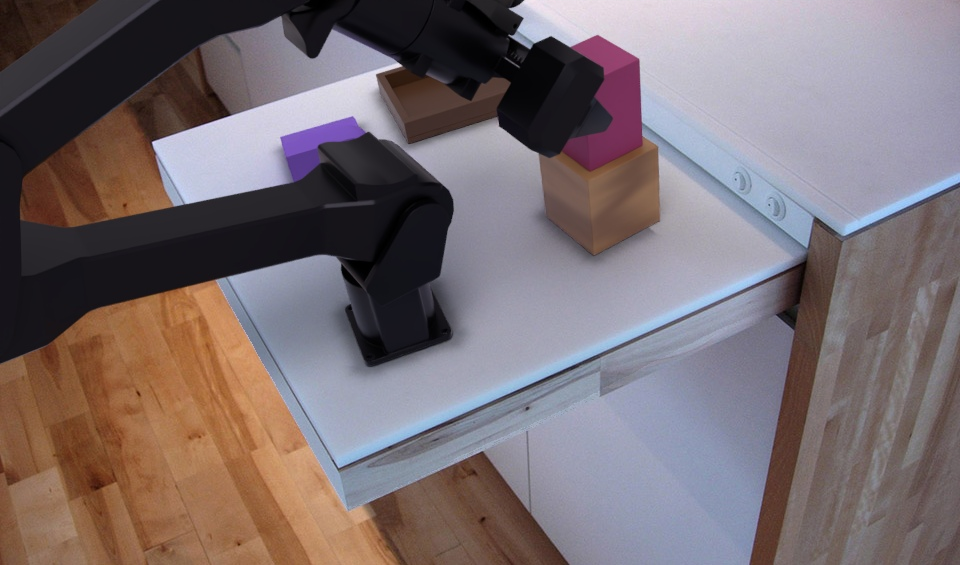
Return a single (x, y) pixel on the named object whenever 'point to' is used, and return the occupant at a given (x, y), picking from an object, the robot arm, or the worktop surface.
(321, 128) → the purple block
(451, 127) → the tray
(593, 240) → the oak block
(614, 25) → the worktop surface
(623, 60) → the mulberry block
